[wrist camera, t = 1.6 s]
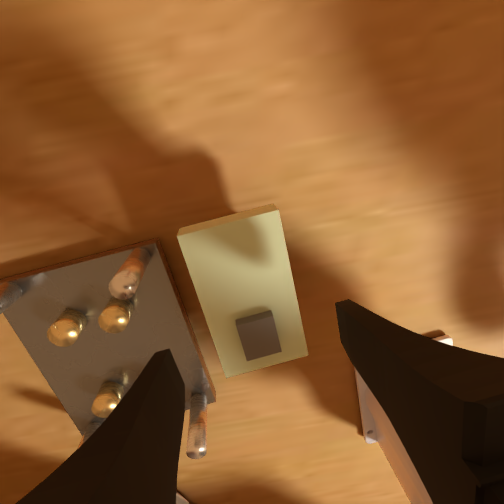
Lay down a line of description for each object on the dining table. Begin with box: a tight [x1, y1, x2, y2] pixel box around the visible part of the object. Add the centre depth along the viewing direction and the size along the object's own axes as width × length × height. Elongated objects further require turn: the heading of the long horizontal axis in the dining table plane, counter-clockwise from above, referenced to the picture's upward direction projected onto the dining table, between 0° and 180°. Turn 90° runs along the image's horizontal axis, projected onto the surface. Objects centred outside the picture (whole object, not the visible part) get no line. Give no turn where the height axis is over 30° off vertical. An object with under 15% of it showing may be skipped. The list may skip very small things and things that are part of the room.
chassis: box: [0, 238, 216, 459], centre depth 19 cm, size 13×10×5 cm
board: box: [177, 204, 309, 378], centre depth 17 cm, size 9×5×2 cm, turn 13°
